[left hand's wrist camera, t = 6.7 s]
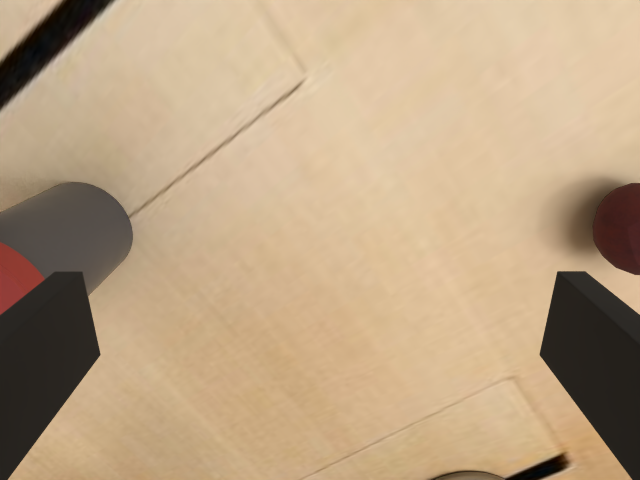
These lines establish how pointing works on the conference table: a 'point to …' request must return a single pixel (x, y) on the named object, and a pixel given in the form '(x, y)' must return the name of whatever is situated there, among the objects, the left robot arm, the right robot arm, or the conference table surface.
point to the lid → (15, 277)
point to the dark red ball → (620, 228)
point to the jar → (69, 231)
